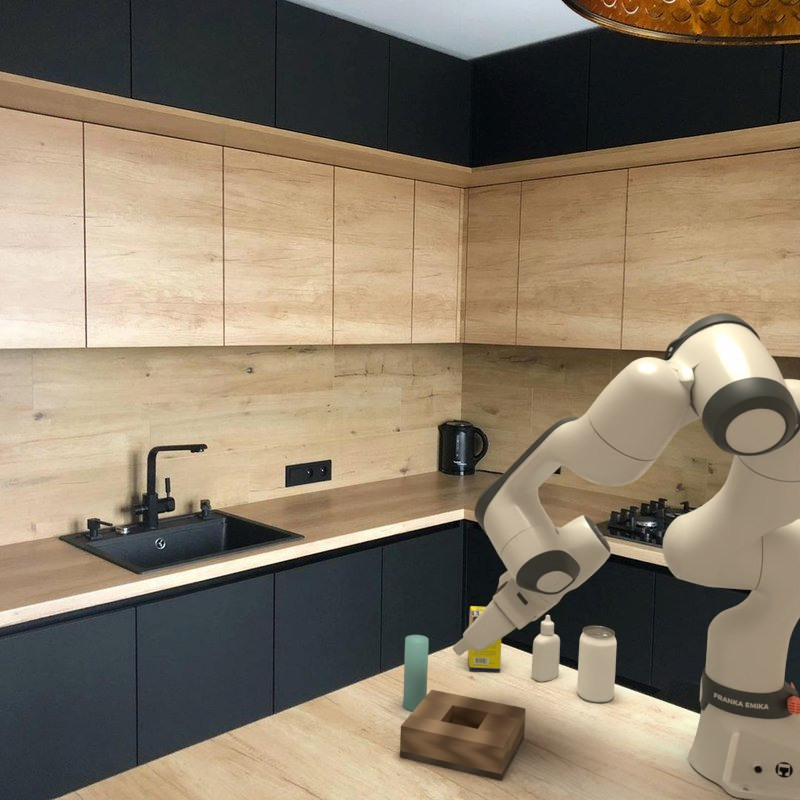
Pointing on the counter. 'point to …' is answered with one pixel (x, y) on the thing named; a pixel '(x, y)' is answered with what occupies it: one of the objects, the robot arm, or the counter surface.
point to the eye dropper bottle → (546, 653)
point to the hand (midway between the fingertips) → (464, 641)
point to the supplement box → (484, 650)
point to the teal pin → (415, 671)
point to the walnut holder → (463, 734)
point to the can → (596, 664)
